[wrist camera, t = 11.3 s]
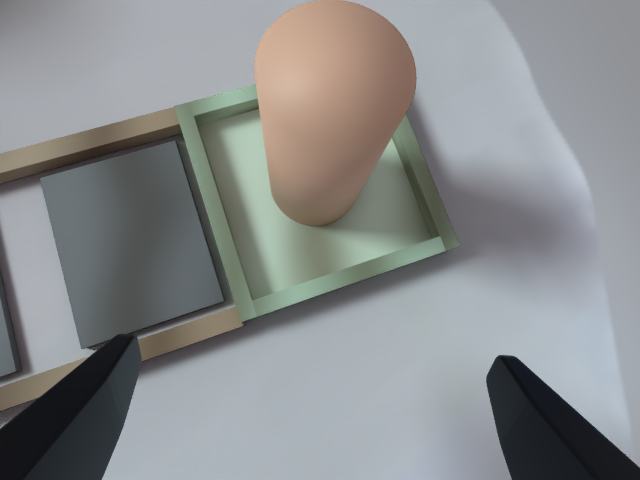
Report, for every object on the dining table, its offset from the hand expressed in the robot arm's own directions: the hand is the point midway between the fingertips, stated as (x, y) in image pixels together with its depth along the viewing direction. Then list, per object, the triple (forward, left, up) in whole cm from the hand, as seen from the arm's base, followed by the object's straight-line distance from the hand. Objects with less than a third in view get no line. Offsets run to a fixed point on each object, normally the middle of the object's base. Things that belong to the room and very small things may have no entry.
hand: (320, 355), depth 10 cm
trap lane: (+3, +11, -10) cm, 16 cm away
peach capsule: (+8, 0, -10) cm, 13 cm away
